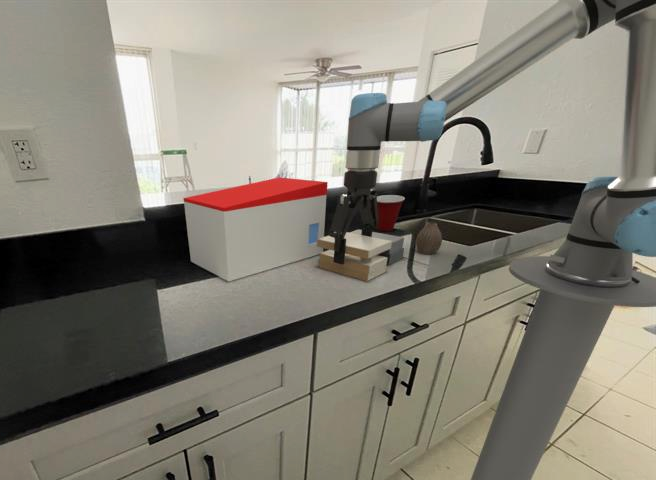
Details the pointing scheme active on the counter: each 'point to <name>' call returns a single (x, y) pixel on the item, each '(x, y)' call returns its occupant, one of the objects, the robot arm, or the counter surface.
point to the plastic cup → (388, 211)
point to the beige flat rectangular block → (358, 245)
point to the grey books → (396, 247)
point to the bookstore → (256, 226)
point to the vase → (429, 239)
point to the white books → (354, 265)
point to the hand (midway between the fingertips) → (352, 257)
